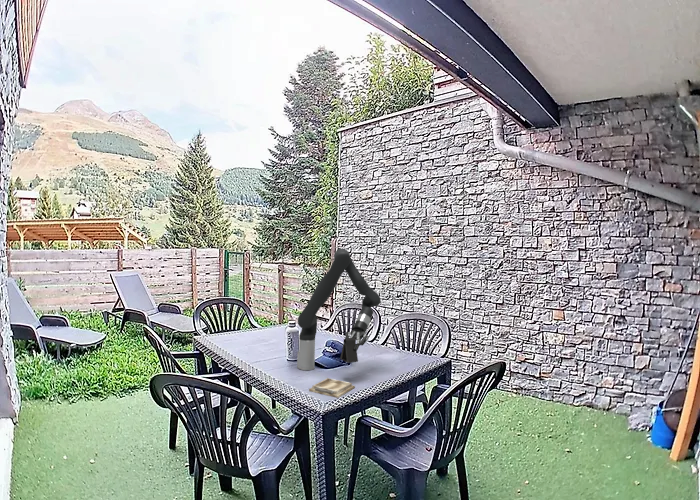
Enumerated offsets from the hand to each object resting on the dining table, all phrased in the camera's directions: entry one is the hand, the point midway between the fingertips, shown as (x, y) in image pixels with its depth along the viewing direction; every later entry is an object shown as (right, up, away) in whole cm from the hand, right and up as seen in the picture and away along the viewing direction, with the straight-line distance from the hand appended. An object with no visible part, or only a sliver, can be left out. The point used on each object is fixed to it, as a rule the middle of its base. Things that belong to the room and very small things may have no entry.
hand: (351, 349), depth 244 cm
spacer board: (-10, -17, -14) cm, 24 cm away
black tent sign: (-1, -6, +1) cm, 6 cm away
